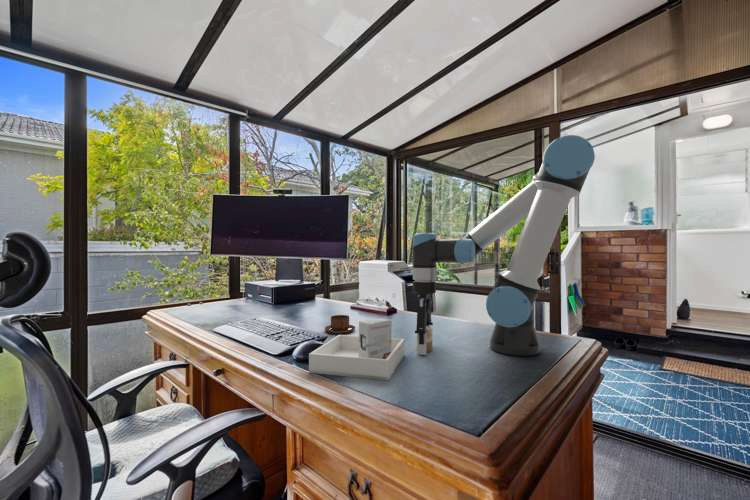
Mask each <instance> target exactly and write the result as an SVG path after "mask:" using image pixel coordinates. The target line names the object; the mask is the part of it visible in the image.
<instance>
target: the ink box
mask: <svg viewBox="0 0 750 500" xmlns="http://www.w3.org/2000/svg"><path fill="white" fill-rule="evenodd" d="M392 322H393V321H392V320H391V319H387V318H382V317H380V318H374V319H366V320H361V321H358V336H359V357H364V358H376V359H386V358H387V357H388V356H389V355H390V353H391V338H392Z"/></svg>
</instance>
